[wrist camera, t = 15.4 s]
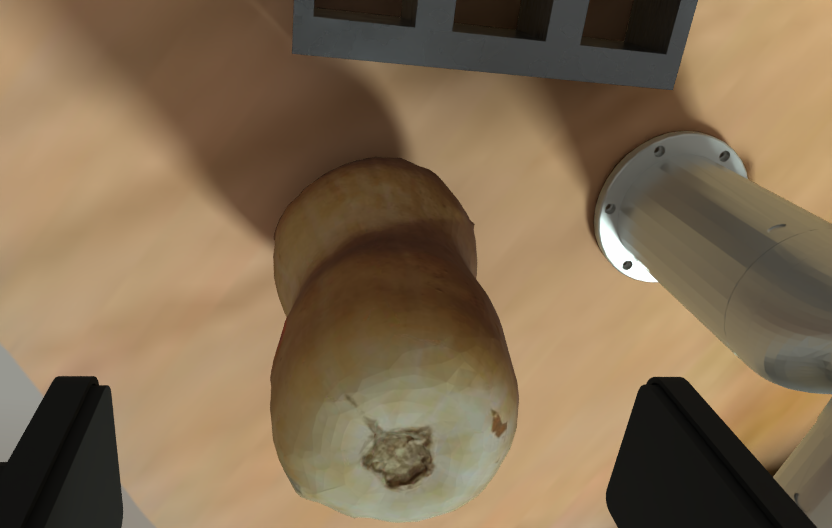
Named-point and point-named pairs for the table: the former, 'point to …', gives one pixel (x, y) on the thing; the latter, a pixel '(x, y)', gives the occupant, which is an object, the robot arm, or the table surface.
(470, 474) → the butternut squash
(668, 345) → the table surface
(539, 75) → the graphite rack rail
